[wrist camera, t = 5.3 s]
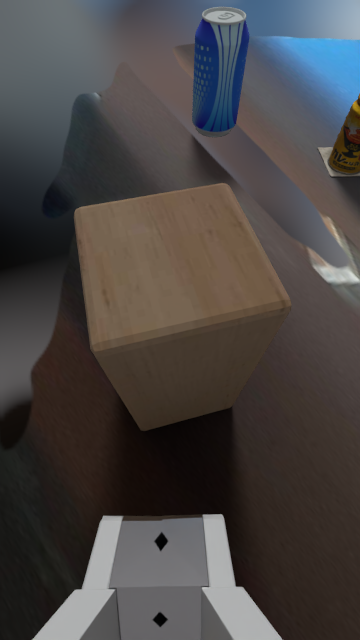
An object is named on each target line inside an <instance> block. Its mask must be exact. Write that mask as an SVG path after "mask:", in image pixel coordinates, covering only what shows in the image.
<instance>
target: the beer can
mask: <svg viewBox="0 0 360 640" xmlns="http://www.w3.org/2000/svg"><path fill="white" fill-rule="evenodd" d="M202 18H203V19H202V20H201V22H200V24H199V27H198V29H197V31H196V35H195V57H194V85H193V113H192V121H193V124H194V125H195V127H196V129H197V131H198V132H199V133H201V134H202V135H205V136H208V137H221V136H224V135H227V134H228V133H229V132H230V131H231V129H232V128H233V127H234V126H235V124H236V120H237V114H238V107H239V101H240V94H241V88H242V81H243V75H244V68H245V62H246V56H247V49H248V43H249V32H248V28H247V25H246V21H245V19H246V14H245V13H244V12H243V11H241V10H239V9H235V8H230V7H215V8H210V9H207V10H205V11H204V12H203V13H202Z"/></svg>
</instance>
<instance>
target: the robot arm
mask: <svg viewBox="0 0 360 640" xmlns="http://www.w3.org/2000/svg"><path fill="white" fill-rule="evenodd" d="M33 640H282V639H281V637H280V636H279V635H278V633H277V632H276V631H275V629H274V628H273V627H272V625H271V624H270V623H269V621H268V620H267V619H266V617H265V616H264V615H263V613H262V612H261V611H260V609H259V608H258V607H257V605H256V604H255V603H254V601H253V600H252V599H251V597H250V596H249V595H248V593H247V592H246V591H245V589H244V588H243V587H236V585H235V579H234V573H233V567H232V562H231V556H230V550H229V544H228V538H227V532H226V527H225V521H224V517H223V515H222V514H212V515H202V514H199V515H166V516H103V518H102V520H101V522H100V524H99V528H98V532H97V535H96V539H95V543H94V546H93V550H92V554H91V557H90V561H89V565H88V568H87V572H86V576H85V579H84V583H83V587H82V589H80V590H74V591H73V593H72V594H71V595H70V596H69V597H68V598H67V600H66V601H65V602H64V603H63V604H62V606H61V607H60V608H59V609H58V610H57V611H56V613H55V614H54V615H53V616H52V617H51V618H50V620H49V621H48V622H47V623H46V624H45V625H44V627H43V628H42V629H41V630H40V631H39V633H38V634H37V635H36V636H35V637H34V638H33Z"/></svg>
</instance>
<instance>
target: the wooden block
mask: <svg viewBox="0 0 360 640" xmlns="http://www.w3.org/2000/svg"><path fill="white" fill-rule="evenodd" d="M74 221H75V230H76V237H77V245H78V253H79V261H80V269H81V277H82V285H83V293H84V301H85V308H86V316H87V324H88V332H89V340H90V348H91V351H92V352H93V354H94V356H95V357H96V359H97V360H98V362H99V364H100V365H101V367H102V368H103V370H104V372H105V373H106V375H107V377H108V378H109V380H110V381H111V383H112V385H113V386H114V388H115V389H116V391H117V393H118V394H119V396H120V397H121V399H122V401H123V402H124V404H125V406H126V407H127V409H128V410H129V412H130V414H131V415H132V417H133V418H134V420H135V422H136V423H137V425H138V426H139V428H140V430H142V431H146V430H150V429H154V428H157V427H161V426H165V425H168V424H172V423H176V422H179V421H183V420H187V419H190V418H194V417H198V416H201V415H205V414H209V413H212V412H216V411H220V410H223V409H227V408H230V407H231V406H233V404H234V402H235V401H236V399H237V397H238V396H239V394H240V392H241V391H242V389H243V387H244V386H245V384H246V383H247V381H248V379H249V378H250V376H251V374H252V373H253V371H254V369H255V368H256V366H257V365H258V363H259V361H260V360H261V358H262V356H263V355H264V353H265V351H266V350H267V348H268V346H269V345H270V343H271V342H272V340H273V338H274V337H275V335H276V333H277V332H278V330H279V328H280V327H281V325H282V324H283V322H284V320H285V319H286V317H287V315H288V314H289V312H290V310H291V301H290V298H289V296H288V294H287V293H286V291H285V289H284V287H283V285H282V283H281V281H280V280H279V278H278V276H277V274H276V272H275V270H274V268H273V266H272V265H271V263H270V261H269V259H268V257H267V255H266V253H265V252H264V250H263V248H262V246H261V244H260V242H259V240H258V238H257V237H256V235H255V233H254V231H253V229H252V227H251V225H250V223H249V222H248V220H247V218H246V216H245V214H244V212H243V210H242V209H241V207H240V205H239V203H238V201H237V199H236V197H235V195H234V194H233V192H232V190H231V188H230V186H229V185H228V184H225V183H219V184H213V185H207V186H202V187H196V188H190V189H184V190H178V191H172V192H166V193H161V194H155V195H149V196H143V197H137V198H131V199H125V200H120V201H114V202H108V203H102V204H96V205H90V206H84V207H80V208H78V209H76V210H75V214H74Z"/></svg>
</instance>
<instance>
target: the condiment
mask: <svg viewBox="0 0 360 640" xmlns="http://www.w3.org/2000/svg"><path fill="white" fill-rule="evenodd" d="M318 149H319V152H320V153H321V156H322V158H323V160H324V163H325V165H326V167H327V170H328V171H329V174H330V175H331V176H342V177H343V176H360V94H359V96H358V99H357V100H356V101H355V102H354V103H353V105H352V106H351V108H350V111H349V113H348V115H347V117H346V120H345V122H344V125H343V126H342V128H341V131H340V133H339V134H338V138H337V140H336V142H335V144H334V147H333V148H331V147H327V148H318Z"/></svg>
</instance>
